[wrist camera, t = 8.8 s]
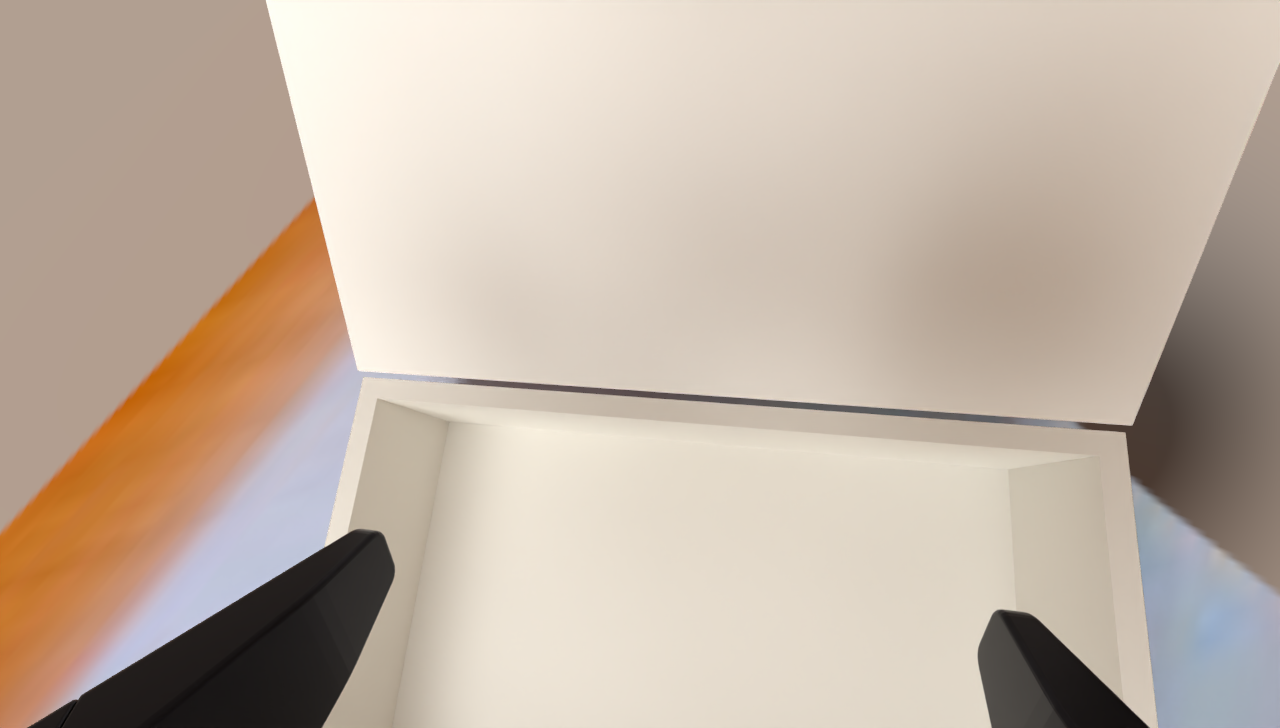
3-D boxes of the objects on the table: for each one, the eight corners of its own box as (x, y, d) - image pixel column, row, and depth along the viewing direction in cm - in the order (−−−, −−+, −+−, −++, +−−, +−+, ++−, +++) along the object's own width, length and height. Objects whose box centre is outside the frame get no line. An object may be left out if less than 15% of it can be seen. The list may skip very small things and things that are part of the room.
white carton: (1058, 1091, 14) (1231, 1393, 9) (349, 908, 17) (206, 1059, 13) (1018, 454, 18) (1125, 432, 13) (445, 407, 21) (363, 377, 16)
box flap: (1132, 425, 13) (1362, -142, 8) (358, 370, 16) (252, -55, 12) (1121, 416, 13) (1337, -132, 9) (366, 365, 16) (266, -50, 12)
